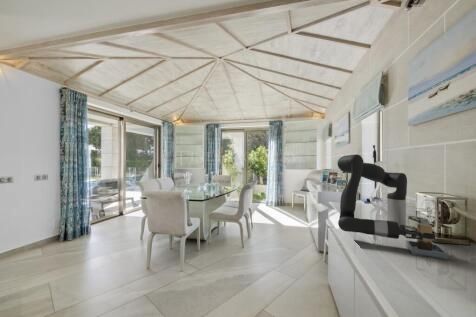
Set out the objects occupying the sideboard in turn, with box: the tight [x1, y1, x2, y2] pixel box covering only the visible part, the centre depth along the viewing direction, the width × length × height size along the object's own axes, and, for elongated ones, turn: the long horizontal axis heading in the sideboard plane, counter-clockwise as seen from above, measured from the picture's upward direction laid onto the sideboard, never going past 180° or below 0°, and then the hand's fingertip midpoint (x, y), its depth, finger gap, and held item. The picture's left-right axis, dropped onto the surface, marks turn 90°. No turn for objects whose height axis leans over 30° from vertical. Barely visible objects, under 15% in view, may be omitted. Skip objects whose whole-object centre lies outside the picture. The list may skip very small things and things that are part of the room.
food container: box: [407, 215, 431, 228], centre depth 115 cm, size 12×6×10 cm, turn 168°
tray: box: [405, 239, 449, 261], centre depth 95 cm, size 12×12×2 cm
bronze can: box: [416, 224, 433, 251], centre depth 95 cm, size 5×5×11 cm
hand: (432, 234), depth 94 cm, fingers open, 6 cm apart
